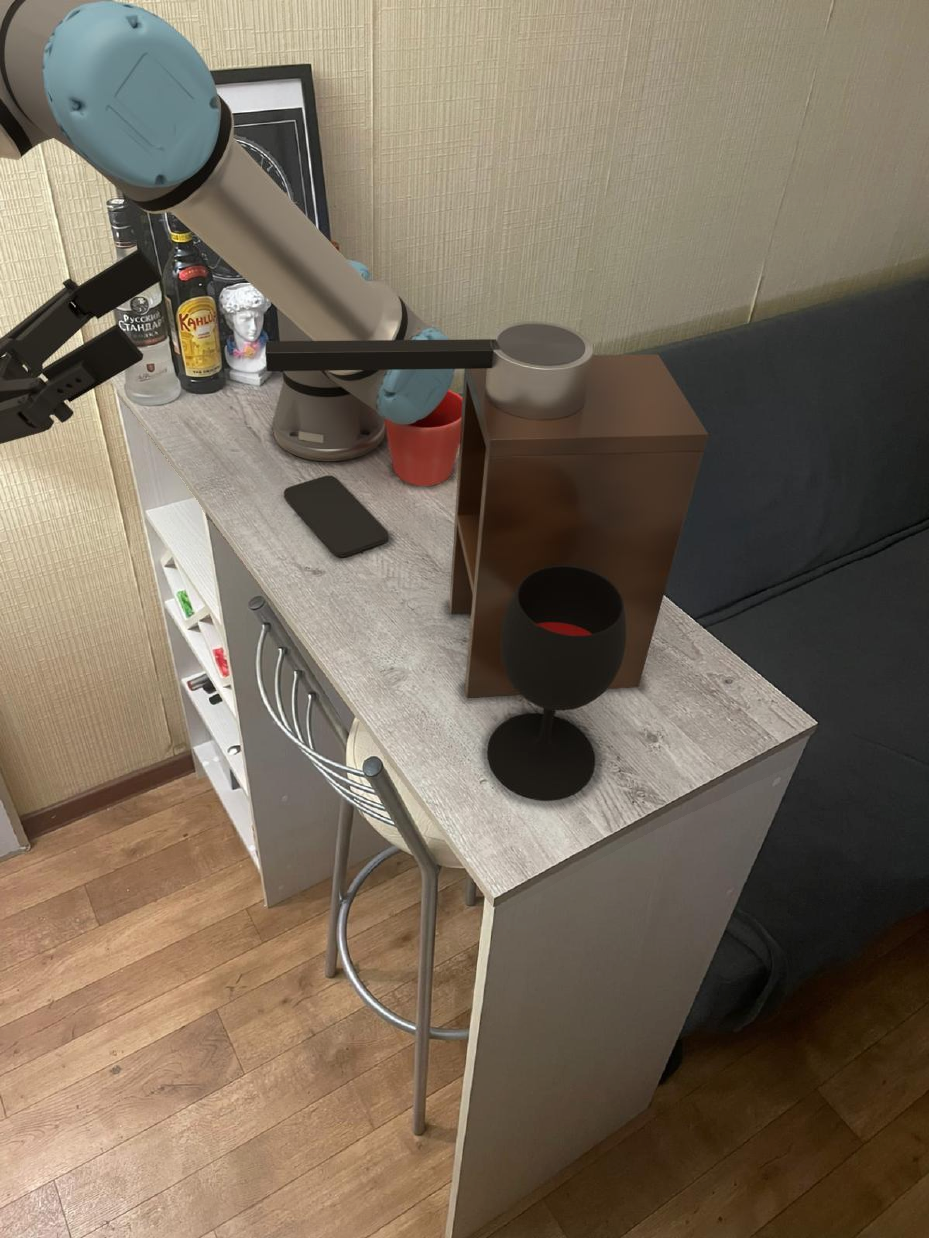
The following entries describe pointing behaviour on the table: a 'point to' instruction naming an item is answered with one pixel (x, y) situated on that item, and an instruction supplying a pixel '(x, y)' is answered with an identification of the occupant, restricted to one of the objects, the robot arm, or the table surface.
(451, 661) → the table surface
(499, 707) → the table surface
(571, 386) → the pan
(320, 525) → the phone
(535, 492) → the shelf
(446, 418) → the flower pot
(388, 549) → the table surface
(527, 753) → the wine glass
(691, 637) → the table surface
